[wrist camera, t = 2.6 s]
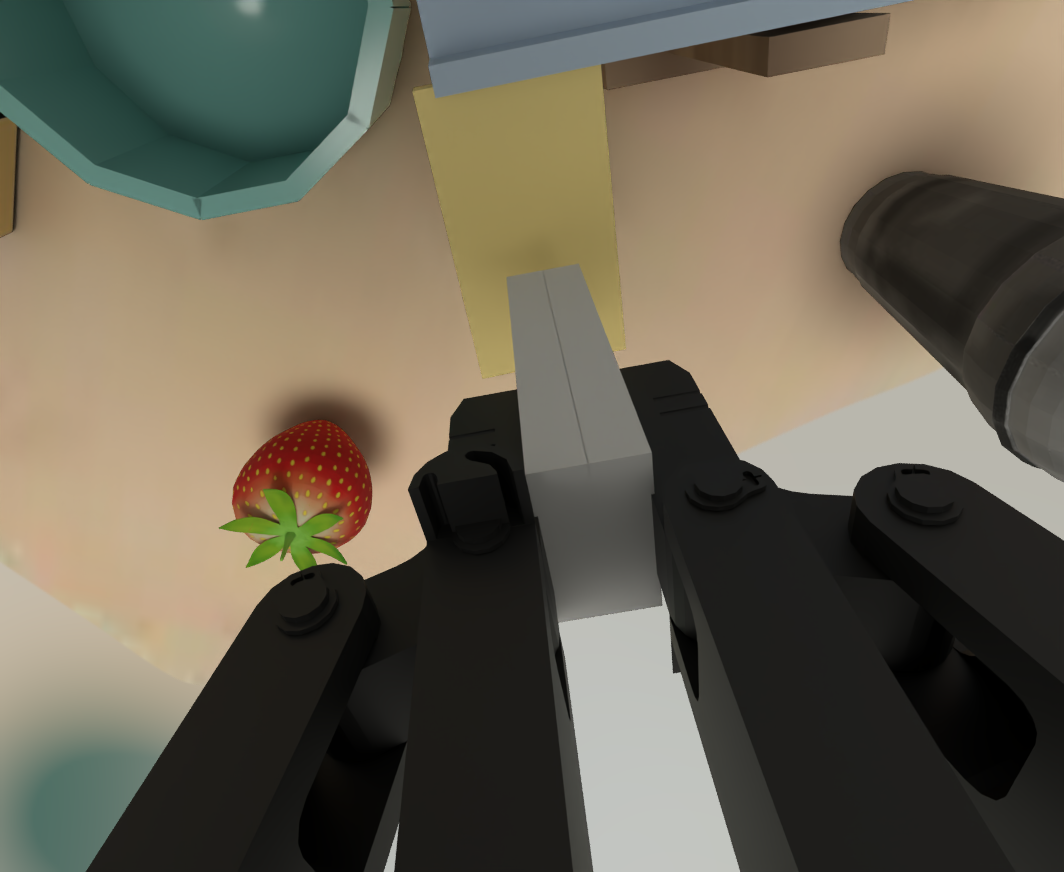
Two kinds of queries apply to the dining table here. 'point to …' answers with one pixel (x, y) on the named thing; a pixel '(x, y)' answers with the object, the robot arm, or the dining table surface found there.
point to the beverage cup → (975, 294)
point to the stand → (762, 51)
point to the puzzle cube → (7, 173)
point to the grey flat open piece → (549, 134)
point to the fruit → (302, 494)
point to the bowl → (200, 92)
